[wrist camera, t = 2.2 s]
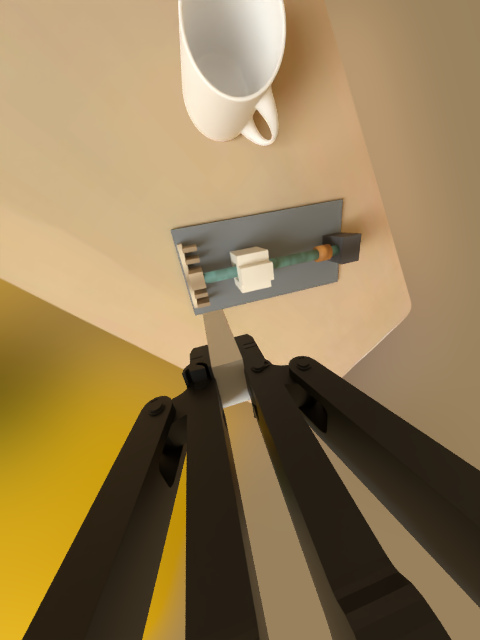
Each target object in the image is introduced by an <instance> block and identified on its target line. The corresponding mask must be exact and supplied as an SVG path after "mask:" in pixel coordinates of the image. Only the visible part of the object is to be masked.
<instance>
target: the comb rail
mask: <svg viewBox="0 0 480 640" xmlns="http://www.w3.org/2000/svg"><path fill="white" fill-rule="evenodd" d="M360 242H361V234H358V233H333V234H328V235H323V236H322V245H321V246H316V247H314V248H313V250H310V251H305V252H300V253H295V254H291V255H286V256H281V257H277V258H272V259H269V261H271V262H273V269H276V268H281V267H285V266H290V265H295V264H299V263H304V262H308V261H313V260H314V261H315V262H320V261H325V260H327V261H331V262H335V263H339V264H345V263H349V262H354V261H358V260H359V251H360ZM177 249H178V252H179V256H180V259H181V263H182V266H183V270H184V273H185V277H186V280H187V284H188V287H189V291H190V294H191V298H192V301H193V305H194V308H202V307H206V306H210V301H209V297H208V293H207V289H206V284H208V283H212V282H217V281H222V280H226V279H231V278H235V277H238V273H237V267H236V266H234V267H229V268H225V269H220V270H215V271H210V272H206V273H203V272H202V268H201V266H197V267H192V268H188V265H189V264H194V263H199V262H200V260H199V256H198V255H195V256H190V257H185V253H188V252H193V251H197V247H196V244H194V245H188V246H182V243H180V244H177Z"/></svg>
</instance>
